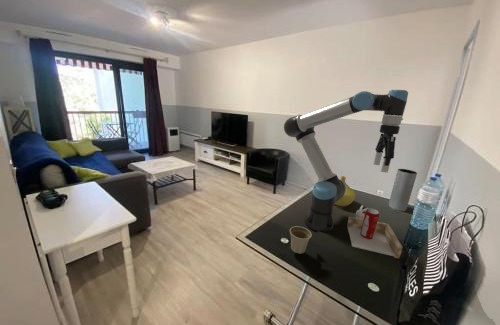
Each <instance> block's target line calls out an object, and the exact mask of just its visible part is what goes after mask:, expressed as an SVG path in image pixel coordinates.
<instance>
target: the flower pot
mask: <svg viewBox="0 0 500 325" xmlns="http://www.w3.org/2000/svg"><path fill="white" fill-rule="evenodd" d="M289 234H290V248H291V251H293V252H294V253H296V254H299V255H300V254H304V253H306V250H307V246H308V244H309V241H310V239H311V238H312V236H313V235H312V232H311V231H310V230H309V229H308V228H306V227H303V226H297V225H296V226H292V227H291V228H289Z"/></svg>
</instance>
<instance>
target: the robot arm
mask: <svg viewBox="0 0 500 325" xmlns="http://www.w3.org/2000/svg"><path fill="white" fill-rule="evenodd" d="M408 96H409V92H408V90H406V89H391V90H389V91H388V93H387V94H386V93H385V94H378V93H377V94H374V93H372V92H370V91H368V90H366V91H365V90H364V91H359V92H357V93H355V95H353V96H350V97H348V98H345V99H342V100H340V101H336V102H335V103H332V104H330V105H327V106H325V107H321V108H318V109H316V110H314V111H310V112H308V113H306V114H303V115H302V114H297V115H295V116H293V117H289V118H288V119H286V120H285V122H284V124H283V130H284V134H286V135H287V136H288V137H291V138H295V140H296V141H297V143H299V144H301V146H302V148H303V150H304V152H305V154H306V156H307V158H308V161H309V162H310V165H311V166H312V168H313V170H314V172H315V174H316V176H317V179H318V180H317V182H316V183H314V184H313V186H312V192H311V201H310V206H309V210H308V212H307V213H306V215H305V217H304V224H305V225H306V226H307V227H309V228H310V229H312V230H313V231H320V232H329V231H331V230H333V229H334V218H333V212H334V206H335V204H334V203H335V202H336V201H338V200H339V199H340V198H342V197H343V195H344V194H345V191H346V186H345V184H344V182H343V181H342V180H340V179H341V178H339V177H338V175H337V174H336V173H334V172H333V171H332V169H331V167H330V165H329V163H328V160H327V159H326V157H325V154H323V151H322V149H321V147H320V145H319V143H318V141H317V140H316V138H315V136H316V132H315V130H314V129H315V127H317V126H320V125H323V124H327V123H329V122H331V121H332V122H333V121H334V120H338V119H341V118H344V117H346V116H350V115H353V114H356V113H360V112H362V111H371V112H373V111H375V112H377V111H378V112H383V114H382V120H381V125H380V128H379V132H380V137H379V138H378V141H377V144H376V146H375V149H374V150H375V155H374V160H373V165H374V166H380V164H381V162H382V165H381V167H380V168H381V169H380V172H382V173H388V172H389V169H390V165H391V161H392V159H394V158H395V147H396V140H397V137H396V136H394V135H399V132H400V125H401V124H402V121H403V120H404V118H403V116H404V113H405V110H406V106H407V102H408ZM383 153H384V156H383ZM382 157H383V160H382ZM381 160H382V161H381Z"/></svg>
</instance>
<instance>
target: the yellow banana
mask: <svg viewBox="0 0 500 325" xmlns="http://www.w3.org/2000/svg"><path fill="white" fill-rule="evenodd" d="M339 179H340V180H342V181H343V182H344V184H345V186H346V191H345V194H344V195H343V197H342V198H340V199H339V200H338V201H336V202H335V203H334V206H340V207H347V206H349V205H350V204H352V203H353V201H354V200H355V199H356V193H355V191H354V190H353V189H352V188H351V187H350V185H348V184H347V183H346V176H345V175H341V176H340V178H339Z"/></svg>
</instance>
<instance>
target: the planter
mask: <svg viewBox="0 0 500 325" xmlns="http://www.w3.org/2000/svg"><path fill="white" fill-rule="evenodd" d="M417 175H418V172H416V171H414V170H411V169H406V168H398V169H397V171H396V174H395V178H394V183H393V187H392V189H391V194H390V197H389V200H388V206H389V207H390V208H391V209H393V210H396V211H400V212H405V211H407V210H408V205H409V202H410V199H411V196H412V194H413V193H412V192H413V189H414V185H415V182H416V178H417Z"/></svg>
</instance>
